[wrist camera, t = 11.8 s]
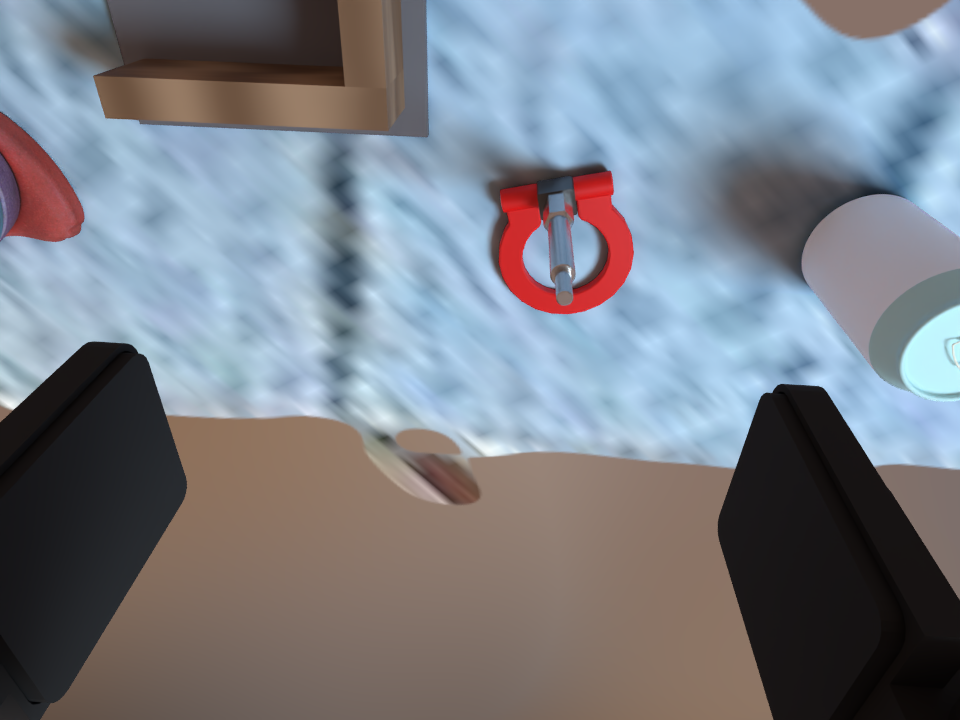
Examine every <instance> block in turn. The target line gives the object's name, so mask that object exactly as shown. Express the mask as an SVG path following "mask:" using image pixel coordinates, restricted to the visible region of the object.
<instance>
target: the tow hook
mask: <svg viewBox="0 0 960 720" xmlns="http://www.w3.org/2000/svg"><path fill="white" fill-rule="evenodd" d="M613 192H614V189H613V179H612V173H611V171H606V172H600V173H594V174H588V175H582V176H577V177H572V176H566V177H560V178H555V179H549V180H543V181H538V182H537V183H536V184H530V185H524V186H518V187H512V188H506V189H501V190H500V202H501V207H502V209H503V212H504V213H505V212H507V215H508V221H509V222H508V224H507V225H506V226H505V228H504V231H503V234H502V237H501V240H500V245H499V265H500V269H501V273H502V277H503V279H504V281H505V282H506V284H507V286H508V287H509V289H510V291H511V292H512V293H514V294H515V295H516V296H517V297H518V298H519V299H520V300H521V301H522V302H524V303H526V304H527V305H529V306H531V307H533V308H535V309H537V310H541V311H544V312H548V313H553V314H572V313H577V312H583V311H586V310H589V309H591V308H593V307H596V306H598V305H600V304H602V303H603V302H605V301H606V300H607V299H609V298H610V297H612V296H613V295H614V294H615V293H616V292H617V290H618V289H619V288H620V287H621V286H622V285H623V283H624V282H625V280H626V278H627V276H628V274H629V272H630V270H631V266H632V260H633V254H634V251H633V242H632V236H631V232H630V230H629V228H628V226H627V224H626V221H625V219H624V217H623V216H622V215H621V214H620V213H619V212H618V211H617V209H616V208H615V207H614V206H613V205H612V203H611V195H613ZM576 201H577V208H576ZM577 209H578V216H579V218H580V219H581V220H584V221H587V222H589V223H590V224H592V225H593V226H595V227H596V228H597V229H598V230H599V231H600V232H601V233H602V234H603V235H604V237H605V239H606V242H607V244H608V257H607V261H606V263H605V266H604V268H603V270H602V271H601V272H600V273H599V275H598V276H597V277H596V278H595V279H594V280H592V281H591V282H589V283H588V284H586V285H584V286H582V287H579V288H577V289H572V282H573V281H574V279H575V265H574V256H573V247H572V238H571V228H572V225H573V223H574V215H576V214H577ZM541 220H543V225H544V227H545V229H546V230H547V231H548V237H549V258H550V277H551V280H552V282H553V283H555V289H556V290H555V289H551V288H548V287H545V286H543V285H541V284H540V283H538V282H536V281H535V280H534V279H533V278H532V277H531V276H530V275H529V273H528V271H527V270H526V268H525V266H524V262H523V258H522V255H523V249H524V246H525V243H526V241H527V239H528V238H529V237H530V235H531V234H532V232H533V231H535V230H536V229H537V228H538V227H539V226H540V224H541Z"/></svg>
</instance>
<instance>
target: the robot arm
mask: <svg viewBox="0 0 960 720" xmlns="http://www.w3.org/2000/svg"><path fill="white" fill-rule="evenodd" d="M186 489H187V481H186V476H185V473H184V470H183V467H182V464H181V461H180V458H179V455H178V452H177V449H176V446H175V443H174V439H173V437H172V433H171V430H170V427H169V424H168V421H167V418H166V415H165V412H164V409H163V405H162V402H161V399H160V396H159V393H158V390H157V387H156V384H155V381H154V378H153V375H152V372H151V368H150V365H149V362H148V360H147V358H146V357H145V356H144V355H142V354H138V352H137V350H136V349H135V348H134V347H133V346H132V345H130V344H125V343H109V342H88V343H86V344H85V345H83V346H82V347H81V348H80V349H79V350H78V351H76V352H75V353H74V354H73V355H72V356H71V357H70V358H69V359H68V360H67V361H66V362H65V363H64V364H63V365H61V366H60V367H59V368H58V369H57V370H56V371H55V372H54V373H53V374H52V375H51V376H50V377H49V378H47V379H46V380H45V381H44V382H43V383H42V384H41V385H40V386H39V387H38V388H37V389H36V390H35V391H33V392H32V393H31V394H30V395H29V396H28V397H27V398H26V399H25V400H24V401H23V402H22V403H21V404H20V405H18V406H17V407H16V408H15V409H14V410H13V411H12V412H11V413H10V414H9V415H8V416H7V417H6V418H5V419H3V420H2V421H1V422H0V720H40V719H41V717H42V716H43V714H44V712H45V711H46V709H47V708H48V706H49V705H50V703H54V702H56V701H58V700H60V699H61V698H62V697H63V696H64V694H65V693H66V692H67V690H68V689H69V688H70V686H71V684H72V682H73V681H74V679H75V678H76V676H77V674H78V673H79V671H80V669H81V668H82V666H83V665H84V663H85V661H86V660H87V658H88V656H89V655H90V653H91V651H92V650H93V648H94V646H95V645H96V643H97V641H98V640H99V638H100V637H101V635H102V633H103V632H104V630H105V628H106V626H107V625H108V624H109V622H110V620H111V619H112V617H113V615H114V614H115V612H116V610H117V609H118V607H119V605H120V603H121V602H122V601H123V599H124V597H125V596H126V594H127V592H128V590H129V589H130V587H131V586H132V584H133V582H134V581H135V579H136V577H137V576H138V574H139V573H140V571H141V569H142V568H143V566H144V564H145V563H146V561H147V560H148V558H149V556H150V555H151V553H152V551H153V550H154V548H155V546H156V545H157V543H158V541H159V540H160V538H161V536H162V535H163V533H164V531H165V530H166V528H167V527H168V525H169V523H170V522H171V520H172V519H173V517H174V515H175V514H176V512H177V510H178V509H179V507H180V505H181V504H182V502H183V500H184V497H185V494H186ZM718 536H719V541H720V545H721V548H722V551H723V555H724V558H725V561H726V564H727V568H728V571H729V574H730V577H731V581H732V584H733V588H734V591H735V594H736V597H737V601H738V604H739V607H740V611H741V614H742V617H743V621H744V624H745V627H746V630H747V634H748V637H749V640H750V644H751V647H752V650H753V654H754V657H755V660H756V663H757V666H758V670H759V673H760V677H761V680H762V683H763V686H764V690H765V693H766V696H767V700H768V703H769V706H770V710H771V713H772V716H773V719H774V720H960V600H959V598H958V597H957V595H956V594H955V592H954V591H953V589H952V587H951V586H950V584H949V583H948V581H947V579H946V578H945V576H944V575H943V573H942V572H941V570H940V569H939V567H938V565H937V564H936V562H935V561H934V559H933V557H932V556H931V555H930V553H929V551H928V549H927V548H926V546H925V545H924V543H923V542H922V540H921V538H920V537H919V535H918V534H917V532H916V531H915V529H914V527H913V526H912V524H911V523H910V521H909V519H908V518H907V516H906V515H905V514H904V512H903V510H902V508H901V507H900V505H899V504H898V502H897V501H896V499H895V497H894V496H893V494H892V493H891V491H890V490H889V489H888V488H887V487H886V485H885V484H884V482H883V480H882V479H881V477H880V476H879V474H878V473H877V471H876V469H875V468H874V466H873V464H872V463H871V461H870V460H869V458H868V457H867V455H866V453H865V452H864V450H863V449H862V447H861V445H860V444H859V442H858V441H857V439H856V438H855V436H854V434H853V433H852V431H851V430H850V428H849V426H848V425H847V423H846V422H845V420H844V419H843V417H842V415H841V414H840V412H839V411H838V409H837V407H836V406H835V404H834V403H833V401H832V400H831V398H830V396H829V395H828V393H827V392H826V391H825V390H824V388H822V387H819V386H806V385H790V384H780V385H778V386H777V387H776V388H775V389H774V391H773V393H765V394H763V395H762V396H761V398H760V400H759V403H758V406H757V409H756V412H755V415H754V417H753V420H752V423H751V426H750V429H749V432H748V435H747V438H746V440H745V443H744V446H743V449H742V452H741V455H740V458H739V461H738V463H737V466H736V469H735V472H734V475H733V478H732V481H731V484H730V486H729V489H728V492H727V495H726V498H725V501H724V504H723V506H722V509H721V512H720V515H719V519H718Z"/></svg>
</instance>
